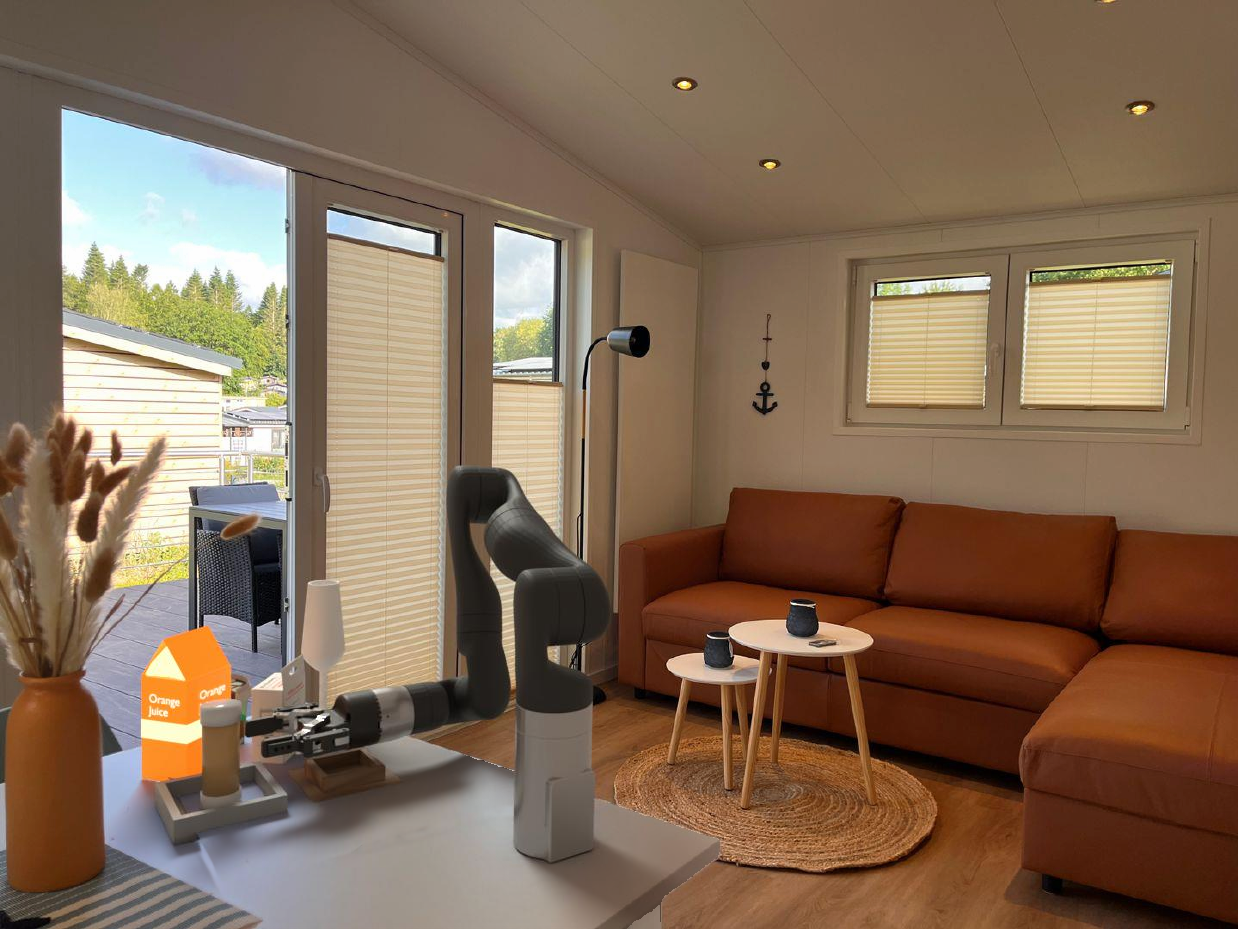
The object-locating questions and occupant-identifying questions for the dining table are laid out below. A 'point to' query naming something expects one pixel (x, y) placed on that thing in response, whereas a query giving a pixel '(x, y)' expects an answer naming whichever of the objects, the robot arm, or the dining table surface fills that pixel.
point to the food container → (241, 697)
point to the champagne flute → (323, 631)
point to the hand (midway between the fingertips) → (252, 739)
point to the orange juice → (180, 702)
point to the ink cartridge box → (277, 702)
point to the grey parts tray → (188, 825)
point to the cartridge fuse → (220, 753)
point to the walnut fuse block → (342, 774)
